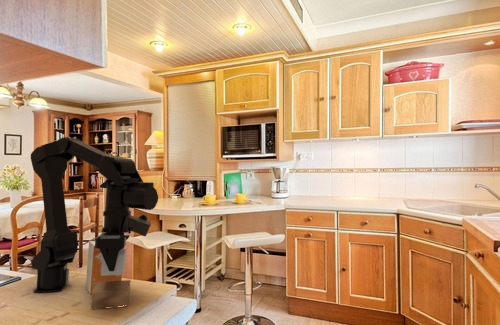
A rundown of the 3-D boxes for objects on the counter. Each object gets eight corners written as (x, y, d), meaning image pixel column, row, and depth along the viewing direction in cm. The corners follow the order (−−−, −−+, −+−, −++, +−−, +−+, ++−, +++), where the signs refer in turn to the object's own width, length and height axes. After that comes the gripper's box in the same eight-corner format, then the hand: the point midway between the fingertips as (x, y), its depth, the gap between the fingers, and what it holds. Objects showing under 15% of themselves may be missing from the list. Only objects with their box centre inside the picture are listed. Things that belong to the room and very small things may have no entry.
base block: (90, 309, 71) (91, 292, 71) (96, 297, 77) (97, 281, 77) (126, 306, 73) (127, 290, 73) (129, 295, 80) (130, 280, 80)
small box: (89, 295, 79) (93, 245, 79) (85, 287, 84) (88, 240, 84) (121, 288, 84) (124, 242, 84) (115, 281, 89) (118, 237, 89)
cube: (100, 275, 72) (102, 255, 72) (104, 268, 77) (105, 249, 77) (122, 274, 74) (124, 254, 74) (125, 268, 78) (126, 249, 79)
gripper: (149, 212, 69) (144, 279, 69) (151, 203, 87) (148, 256, 87) (96, 211, 66) (91, 281, 66) (110, 202, 84) (106, 257, 83)
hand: (113, 267), depth 75 cm, fingers closed on cube, 5 cm apart
